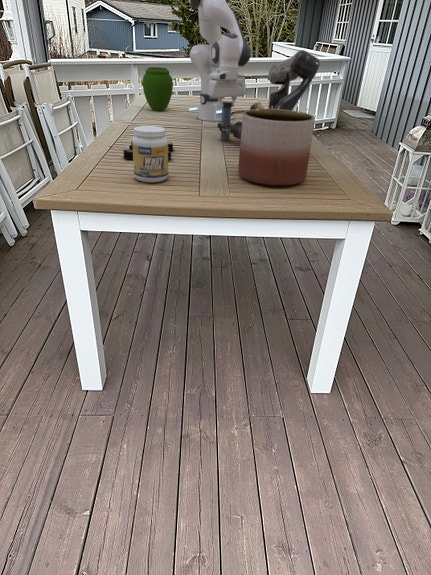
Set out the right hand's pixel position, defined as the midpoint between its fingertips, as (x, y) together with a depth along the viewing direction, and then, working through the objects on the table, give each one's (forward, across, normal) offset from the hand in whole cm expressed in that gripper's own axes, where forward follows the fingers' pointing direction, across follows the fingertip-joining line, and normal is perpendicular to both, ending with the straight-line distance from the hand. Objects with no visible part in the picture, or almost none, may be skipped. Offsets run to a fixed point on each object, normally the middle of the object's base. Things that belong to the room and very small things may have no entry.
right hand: (222, 124), depth 202 cm
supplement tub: (-40, +62, +6) cm, 74 cm away
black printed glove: (-7, +44, +6) cm, 45 cm away
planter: (-60, +22, +6) cm, 64 cm away
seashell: (+45, -63, +7) cm, 78 cm away
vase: (+84, -12, +7) cm, 86 cm away
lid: (-3, 0, -10) cm, 11 cm away
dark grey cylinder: (-3, 0, +7) cm, 7 cm away
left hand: (-3, 0, -9) cm, 9 cm away
